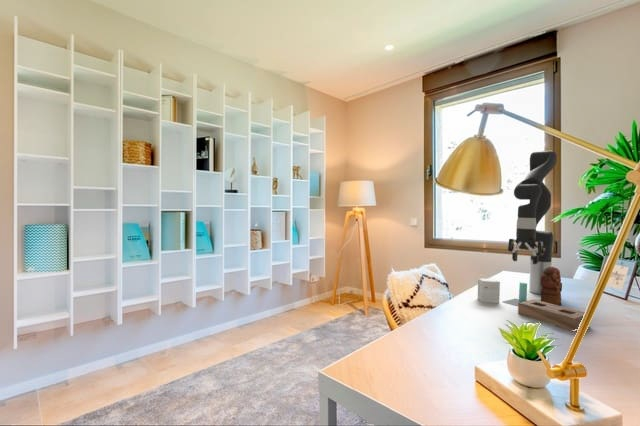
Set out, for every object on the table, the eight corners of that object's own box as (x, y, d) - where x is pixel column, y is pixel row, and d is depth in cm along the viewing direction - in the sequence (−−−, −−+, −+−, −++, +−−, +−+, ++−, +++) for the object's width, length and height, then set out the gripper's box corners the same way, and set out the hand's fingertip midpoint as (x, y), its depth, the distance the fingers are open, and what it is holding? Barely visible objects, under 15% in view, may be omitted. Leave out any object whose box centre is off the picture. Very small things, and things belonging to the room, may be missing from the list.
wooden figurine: (554, 309, 141) (556, 269, 140) (538, 305, 146) (539, 267, 145) (564, 304, 147) (565, 267, 147) (548, 301, 153) (549, 264, 152)
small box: (494, 300, 153) (494, 278, 153) (499, 303, 147) (500, 281, 147) (477, 299, 154) (477, 278, 153) (481, 302, 148) (482, 280, 148)
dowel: (520, 303, 148) (521, 282, 147) (527, 305, 145) (528, 283, 145) (517, 304, 146) (518, 282, 146) (524, 305, 143) (525, 284, 143)
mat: (515, 299, 155) (515, 298, 155) (542, 306, 145) (542, 305, 145) (501, 302, 149) (501, 301, 149) (528, 310, 139) (528, 309, 139)
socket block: (533, 310, 139) (533, 299, 139) (588, 326, 121) (589, 313, 121) (517, 314, 133) (518, 302, 133) (574, 331, 115) (575, 318, 115)
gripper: (547, 228, 140) (546, 264, 140) (514, 226, 152) (513, 259, 153) (539, 229, 136) (537, 266, 137) (505, 226, 148) (504, 260, 149)
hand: (524, 262), depth 145 cm, fingers open, 8 cm apart
